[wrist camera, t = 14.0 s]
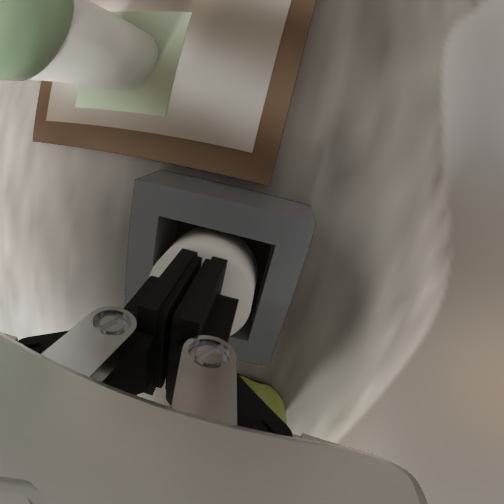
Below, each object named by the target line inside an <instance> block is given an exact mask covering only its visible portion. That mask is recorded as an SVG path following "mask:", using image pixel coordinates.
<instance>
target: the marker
mask: <svg viewBox="0 0 504 504" xmlns="http://www.w3.org/2000/svg"><path fill="white" fill-rule="evenodd" d="M157 60H158V47H157V44H156V42H155V40H154V39H153V37H152V36H151V35H149V34H148V33H146V32H144V31H143V30H141V29H139V28H138V27H136V26H134V25H133V24H131V23H129V22H127V21H126V20H124V19H122V18H120V17H119V16H117V15H115V14H113V13H111V12H110V11H108V10H106V9H104V8H102V7H100V6H98V5H96V4H94V3H92V2H91V1H89V0H0V80H12V81H23V80H40V81H52V82H62V83H71V84H80V85H87V86H95V87H101V88H108V89H114V90H120V91H125V90H130V89H133V88H136V87H138V86H139V85H141V84H142V83H143V82H145V81H146V80H147V79H148V78H149V76H150V75H151V74H152V72H153V71H154V69H155V66H156V64H157Z"/></svg>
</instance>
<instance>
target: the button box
mask: <svg viewBox="0 0 504 504" xmlns="http://www.w3.org/2000/svg"><path fill="white" fill-rule="evenodd" d="M177 221H181V222H186V223H190V224H194V225H198V226H202V227H205V228H209V229H213V230H217V231H221V232H225V233H229V234H233V235H237V236H241V237H245V238H249V239H253V240H257V241H261V242H265V243H268V244H272V246H271V250H270V254H269V257H268V261H267V264H266V268H265V272H264V275H263V279H262V282H261V286H260V289H259V293H258V296H257V300H256V304H255V307H254V308H251V312H250V314H249V317H248V319H247V321H246V323H245V324H244V325H243V326H242V327H241V328H240V329H239V330H238V331H237V332H236V333H234V334H233V335H231V336H230V337H229V341H228V344H230V345H231V346H232V347H233V349H234V350H235V353H236V359H237V360H241V361H245V362H250V363H254V364H258V365H263V366H267V367H268V364H269V362H270V359H271V356H272V354H273V351H274V348H275V345H276V343H277V340H278V337H279V334H280V331H281V329H282V326H283V323H284V320H285V317H286V314H287V312H288V309H289V306H290V303H291V300H292V297H293V294H294V291H295V288H296V285H297V282H298V279H299V276H300V273H301V270H302V267H303V264H304V261H305V258H306V255H307V251H308V248H309V245H310V242H311V239H312V236H313V232H314V229H315V226H316V221H315V218H314V215H313V212H312V209H311V206H309V205H305V204H301V203H298V202H294V201H290V200H287V199H283V198H279V197H275V196H271V195H267V194H263V193H259V192H255V191H251V190H247V189H243V188H239V187H235V186H231V185H227V184H222V183H218V182H214V181H209V180H205V179H201V178H196V177H192V176H187V175H182V174H178V173H173V172H168V171H163V170H160V171H157V172H154V173H152V174H149V175H146V176H144V177H141V178H138V179H136V180H135V184H134V191H133V200H132V208H131V218H130V228H129V239H128V252H127V268H126V289H125V306H126V305H127V304H128V302H129V301H130V300H131V299H132V297H133V296H134V295H135V294H136V293H137V291H138V290H139V289H140V288H141V287H142V285H143V284H144V283H145V282H146V281H147V279H148V278H149V276H150V273H151V270H152V268H153V267H154V265H155V264H156V262H157V261H158V260H159V259H160V258H161V257H162V256H163V255H164V254H165V252H166V251H167V250H168V249H169V248H170V247H171V246H172V245H173V244H174V239H175V233H176V226H177Z"/></svg>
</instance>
